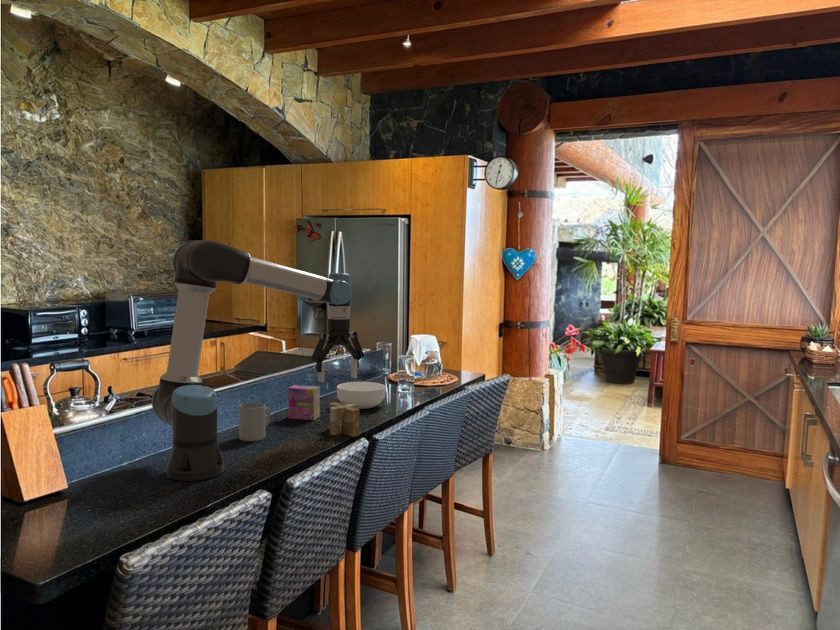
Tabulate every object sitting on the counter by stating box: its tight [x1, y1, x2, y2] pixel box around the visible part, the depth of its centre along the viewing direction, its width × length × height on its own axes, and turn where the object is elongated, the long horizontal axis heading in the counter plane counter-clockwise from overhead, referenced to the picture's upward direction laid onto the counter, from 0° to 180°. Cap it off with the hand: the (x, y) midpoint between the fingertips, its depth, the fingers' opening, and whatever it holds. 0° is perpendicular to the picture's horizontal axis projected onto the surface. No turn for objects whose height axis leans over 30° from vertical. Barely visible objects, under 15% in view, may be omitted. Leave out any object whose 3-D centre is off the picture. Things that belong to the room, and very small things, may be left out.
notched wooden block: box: [329, 401, 360, 437], centre depth 222 cm, size 2×14×9 cm, turn 42°
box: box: [287, 384, 321, 421], centre depth 240 cm, size 10×6×12 cm, turn 76°
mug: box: [238, 402, 271, 442], centre depth 213 cm, size 12×8×11 cm
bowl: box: [336, 381, 386, 410], centre depth 260 cm, size 20×20×8 cm
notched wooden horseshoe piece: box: [329, 404, 358, 436], centre depth 222 cm, size 10×2×9 cm, turn 132°
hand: (337, 379), depth 221 cm, fingers open, 13 cm apart
